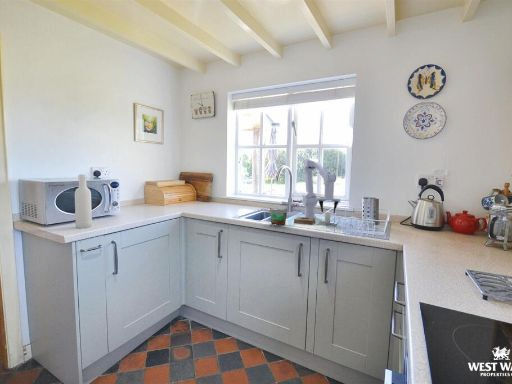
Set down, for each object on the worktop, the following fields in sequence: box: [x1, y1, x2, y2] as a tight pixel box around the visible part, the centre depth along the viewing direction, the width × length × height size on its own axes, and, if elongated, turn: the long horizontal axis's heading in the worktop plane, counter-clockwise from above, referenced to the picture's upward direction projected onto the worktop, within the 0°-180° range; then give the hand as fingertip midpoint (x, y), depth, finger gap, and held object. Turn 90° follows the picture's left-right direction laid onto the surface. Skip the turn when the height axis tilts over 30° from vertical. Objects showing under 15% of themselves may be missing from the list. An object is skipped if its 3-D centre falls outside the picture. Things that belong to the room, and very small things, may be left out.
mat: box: [316, 220, 338, 227], centre depth 172 cm, size 14×12×1 cm
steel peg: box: [324, 210, 332, 224], centre depth 172 cm, size 3×4×8 cm
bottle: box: [74, 174, 93, 229], centre depth 148 cm, size 8×8×30 cm
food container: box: [269, 207, 289, 226], centre depth 166 cm, size 12×6×10 cm, turn 62°
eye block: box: [293, 216, 316, 225], centre depth 176 cm, size 12×12×2 cm
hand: (328, 212), depth 172 cm, fingers open, 7 cm apart
